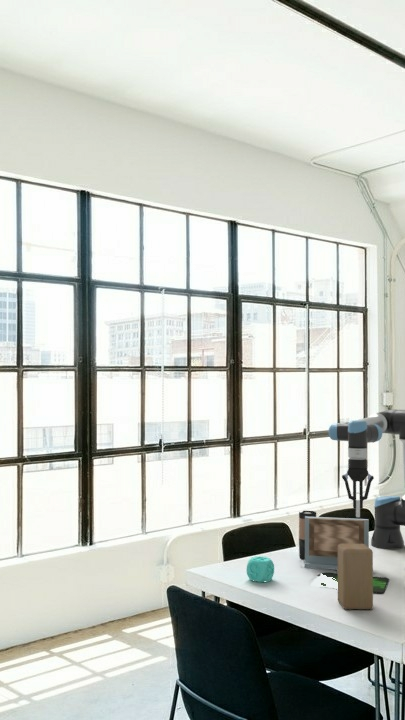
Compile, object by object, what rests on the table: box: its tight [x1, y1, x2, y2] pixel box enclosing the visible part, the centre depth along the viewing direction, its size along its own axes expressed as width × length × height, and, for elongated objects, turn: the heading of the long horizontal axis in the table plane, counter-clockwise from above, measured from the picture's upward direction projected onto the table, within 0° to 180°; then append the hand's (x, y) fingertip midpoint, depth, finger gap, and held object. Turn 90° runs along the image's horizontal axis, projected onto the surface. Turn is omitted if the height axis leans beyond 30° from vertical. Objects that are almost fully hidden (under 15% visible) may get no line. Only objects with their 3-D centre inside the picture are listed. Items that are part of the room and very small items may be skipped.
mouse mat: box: [321, 571, 390, 595], centre depth 259 cm, size 27×22×1 cm
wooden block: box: [337, 544, 374, 610], centre depth 231 cm, size 10×10×20 cm
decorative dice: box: [246, 556, 275, 583], centre depth 262 cm, size 8×8×8 cm
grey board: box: [303, 516, 370, 570], centre depth 283 cm, size 26×8×20 cm, turn 79°
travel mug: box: [298, 510, 317, 561], centre depth 297 cm, size 8×8×20 cm
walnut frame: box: [309, 518, 364, 557], centre depth 278 cm, size 22×2×15 cm, turn 79°
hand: (358, 516), depth 277 cm, fingers closed
